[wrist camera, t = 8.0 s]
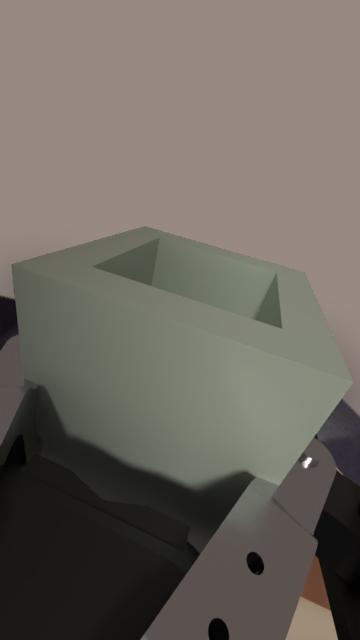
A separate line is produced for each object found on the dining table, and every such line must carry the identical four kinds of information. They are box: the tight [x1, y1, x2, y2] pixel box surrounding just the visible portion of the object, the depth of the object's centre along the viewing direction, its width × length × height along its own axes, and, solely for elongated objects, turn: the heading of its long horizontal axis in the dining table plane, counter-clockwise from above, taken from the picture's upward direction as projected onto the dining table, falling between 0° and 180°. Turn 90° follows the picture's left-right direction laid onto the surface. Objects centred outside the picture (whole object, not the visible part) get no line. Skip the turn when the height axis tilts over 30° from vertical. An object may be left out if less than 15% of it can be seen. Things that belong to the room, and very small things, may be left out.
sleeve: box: [12, 227, 353, 554], centre depth 9 cm, size 6×6×10 cm
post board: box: [285, 467, 343, 640], centre depth 18 cm, size 16×13×6 cm
